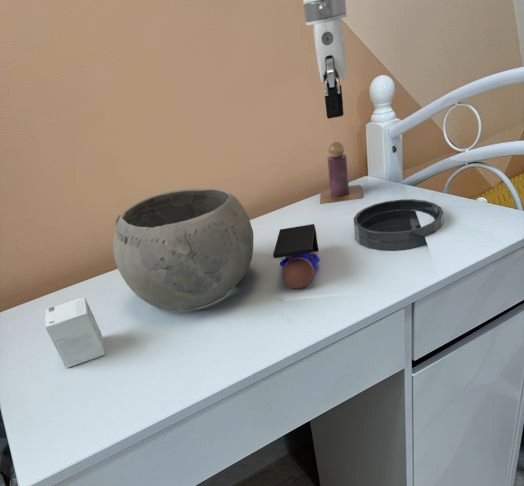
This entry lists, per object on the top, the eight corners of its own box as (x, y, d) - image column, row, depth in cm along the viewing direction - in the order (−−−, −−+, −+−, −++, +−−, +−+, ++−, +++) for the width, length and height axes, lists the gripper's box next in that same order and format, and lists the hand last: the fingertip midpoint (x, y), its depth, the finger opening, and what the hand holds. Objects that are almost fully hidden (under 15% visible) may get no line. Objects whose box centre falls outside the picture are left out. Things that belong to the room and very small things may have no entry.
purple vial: (348, 189, 111) (344, 138, 105) (349, 195, 108) (345, 143, 102) (331, 191, 112) (326, 141, 106) (330, 198, 109) (325, 146, 103)
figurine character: (285, 263, 91) (278, 295, 78) (278, 222, 87) (270, 249, 74) (321, 258, 90) (320, 291, 77) (316, 217, 86) (314, 243, 73)
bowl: (288, 284, 81) (273, 194, 72) (160, 342, 73) (127, 249, 65) (224, 247, 98) (206, 171, 90) (116, 290, 91) (85, 212, 82)
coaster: (360, 186, 113) (360, 184, 113) (362, 200, 106) (361, 198, 106) (321, 191, 115) (320, 189, 115) (320, 205, 108) (319, 203, 107)
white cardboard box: (106, 355, 73) (87, 313, 69) (65, 369, 72) (43, 327, 68) (102, 336, 78) (85, 295, 74) (64, 349, 77) (44, 308, 73)
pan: (434, 212, 94) (435, 194, 92) (449, 246, 82) (450, 226, 80) (353, 222, 97) (352, 205, 95) (356, 257, 85) (355, 238, 83)
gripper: (346, 8, 83) (355, 117, 93) (345, 6, 97) (352, 101, 106) (302, 18, 85) (315, 124, 94) (307, 14, 98) (318, 107, 108)
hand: (335, 112), depth 100 cm, fingers open, 9 cm apart
